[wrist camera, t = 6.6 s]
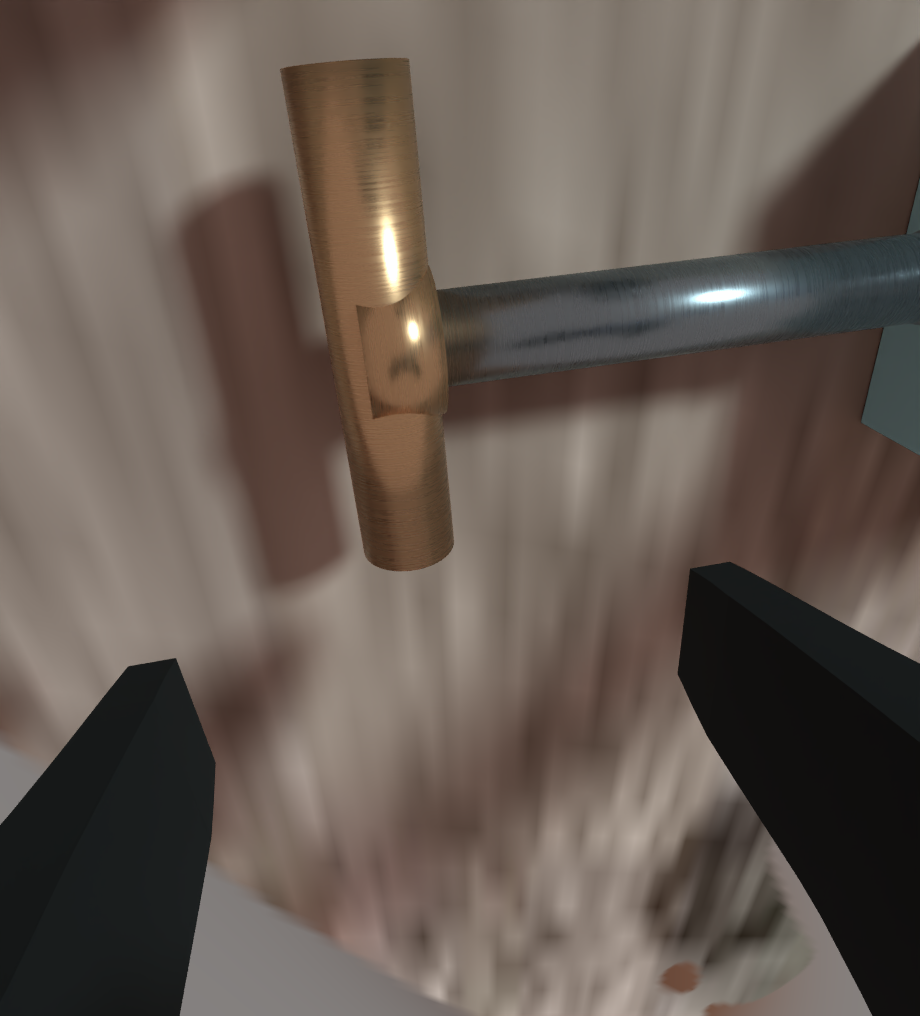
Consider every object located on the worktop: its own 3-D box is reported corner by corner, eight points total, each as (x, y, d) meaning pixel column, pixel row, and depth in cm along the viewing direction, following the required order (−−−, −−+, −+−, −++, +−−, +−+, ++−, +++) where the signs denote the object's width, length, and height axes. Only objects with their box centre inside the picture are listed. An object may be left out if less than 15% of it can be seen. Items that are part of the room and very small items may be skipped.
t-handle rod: (987, 18, 13) (1132, -2, 11) (879, 438, 18) (965, 487, 16) (283, 73, 12) (275, 64, 9) (360, 520, 16) (368, 589, 14)
